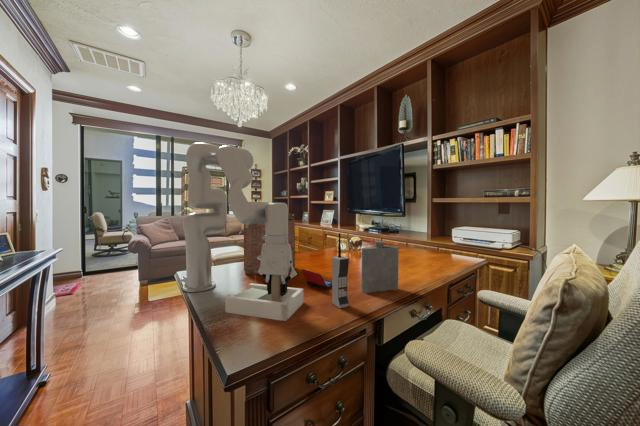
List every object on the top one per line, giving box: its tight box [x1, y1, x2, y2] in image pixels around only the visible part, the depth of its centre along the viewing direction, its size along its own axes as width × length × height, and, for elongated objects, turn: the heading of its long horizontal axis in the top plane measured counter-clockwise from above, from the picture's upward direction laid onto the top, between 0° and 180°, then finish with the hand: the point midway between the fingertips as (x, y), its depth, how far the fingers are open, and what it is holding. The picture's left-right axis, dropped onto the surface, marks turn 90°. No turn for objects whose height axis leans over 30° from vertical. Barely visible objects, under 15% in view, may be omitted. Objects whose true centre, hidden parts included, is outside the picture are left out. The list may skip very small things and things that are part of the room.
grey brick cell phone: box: [331, 233, 350, 309], centre depth 88 cm, size 4×5×25 cm
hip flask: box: [360, 240, 400, 294], centre depth 104 cm, size 16×4×20 cm, turn 104°
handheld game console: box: [301, 268, 332, 291], centre depth 110 cm, size 12×11×7 cm
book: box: [243, 212, 296, 276], centre depth 134 cm, size 25×9×30 cm, turn 109°
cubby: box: [224, 282, 305, 322], centre depth 87 cm, size 22×15×5 cm
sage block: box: [233, 288, 272, 301], centre depth 89 cm, size 9×9×4 cm
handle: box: [271, 275, 283, 302], centre depth 86 cm, size 5×6×15 cm
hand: (277, 293), depth 86 cm, fingers closed on handle, 4 cm apart
